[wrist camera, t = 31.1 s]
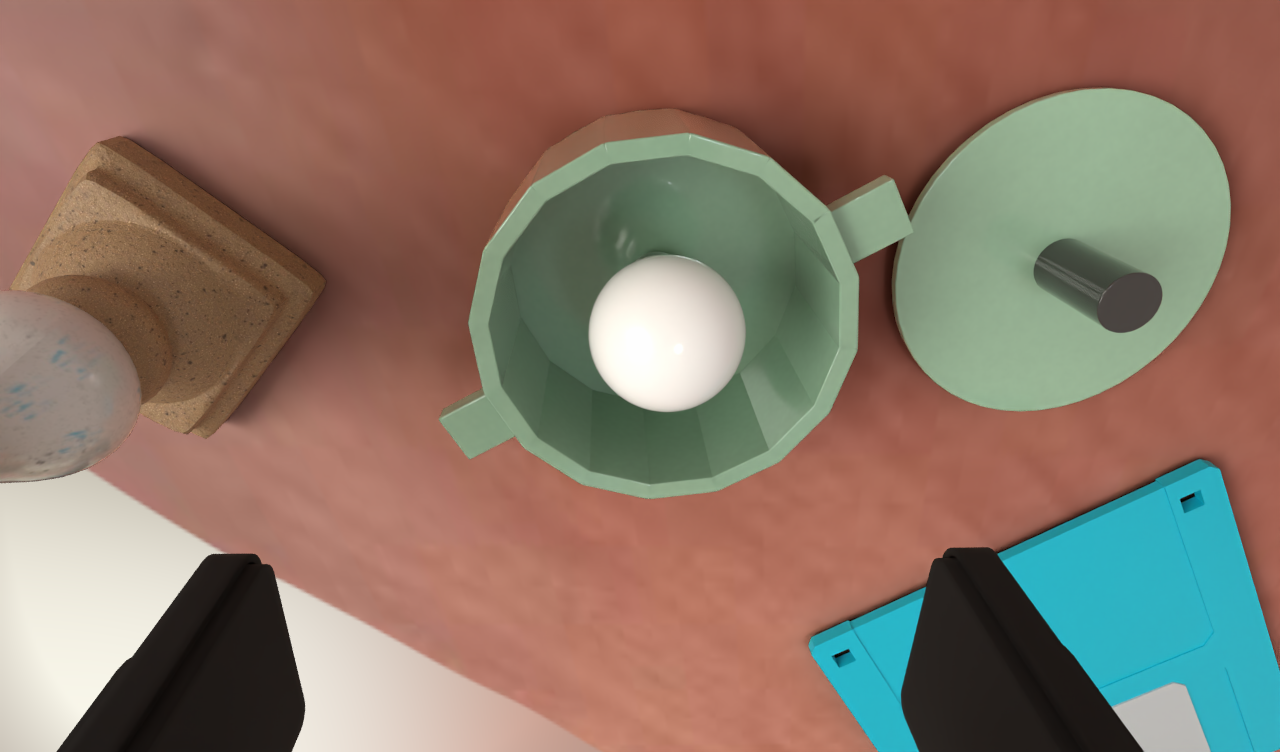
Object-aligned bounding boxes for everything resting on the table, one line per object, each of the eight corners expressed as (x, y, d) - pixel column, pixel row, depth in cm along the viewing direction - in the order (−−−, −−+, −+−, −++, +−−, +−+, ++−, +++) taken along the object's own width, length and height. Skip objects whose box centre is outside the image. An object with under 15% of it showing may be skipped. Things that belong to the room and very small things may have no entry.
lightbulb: (741, 244, 37) (791, 328, 27) (681, 351, 39) (707, 464, 30) (625, 187, 36) (634, 254, 26) (570, 302, 38) (558, 403, 28)
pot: (390, 239, 37) (333, 299, 29) (780, 10, 33) (833, 9, 25) (557, 472, 43) (546, 572, 35) (901, 301, 39) (973, 371, 32)
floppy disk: (1205, 453, 44) (1218, 462, 43) (1289, 729, 55) (1300, 741, 54) (804, 638, 49) (808, 649, 48) (954, 856, 60) (959, 869, 59)
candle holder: (19, 303, 37) (-778, 698, 16) (118, 129, 34) (-719, 330, 12) (223, 426, 41) (-203, 888, 19) (331, 280, 37) (-38, 640, 16)
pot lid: (838, 195, 37) (884, 231, 31) (1179, 15, 34) (1304, 15, 28) (946, 448, 43) (1001, 518, 37) (1238, 315, 40) (1349, 367, 34)
